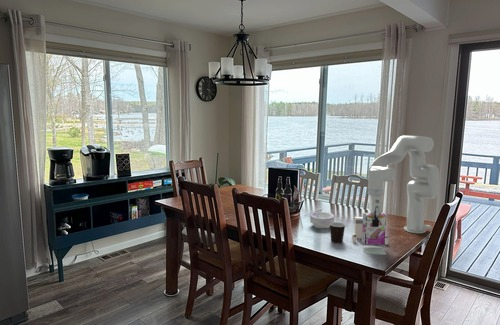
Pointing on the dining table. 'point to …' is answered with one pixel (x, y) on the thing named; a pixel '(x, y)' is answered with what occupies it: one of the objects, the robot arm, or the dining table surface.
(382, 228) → the candy bar box
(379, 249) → the pad
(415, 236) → the dining table surface
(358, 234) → the dispenser
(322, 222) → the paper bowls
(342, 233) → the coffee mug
